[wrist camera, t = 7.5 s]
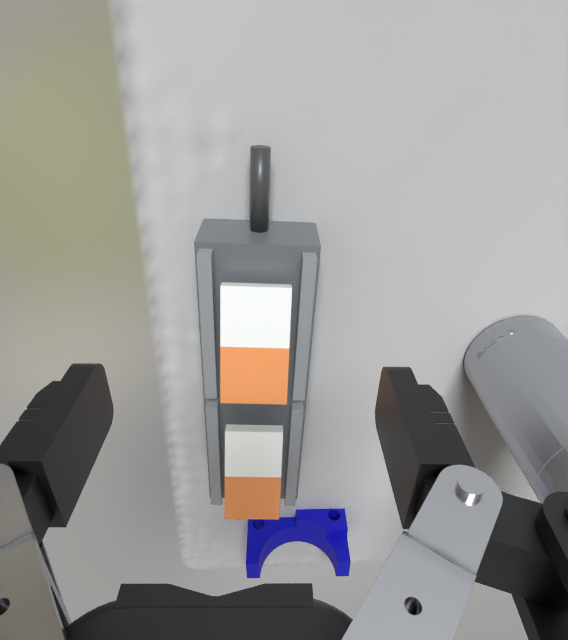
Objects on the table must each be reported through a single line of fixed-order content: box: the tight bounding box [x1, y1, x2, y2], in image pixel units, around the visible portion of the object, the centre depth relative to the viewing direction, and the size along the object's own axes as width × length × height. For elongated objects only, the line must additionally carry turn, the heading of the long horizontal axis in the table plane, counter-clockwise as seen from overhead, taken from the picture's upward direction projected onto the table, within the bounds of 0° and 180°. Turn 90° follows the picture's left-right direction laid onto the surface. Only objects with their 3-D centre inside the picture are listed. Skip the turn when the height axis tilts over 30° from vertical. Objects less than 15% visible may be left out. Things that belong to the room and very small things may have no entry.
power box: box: [194, 145, 321, 506], centre depth 39 cm, size 34×9×6 cm, turn 177°
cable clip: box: [246, 509, 350, 578], centre depth 54 cm, size 12×4×6 cm, turn 90°
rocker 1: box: [220, 282, 292, 405], centre depth 33 cm, size 9×5×1 cm, turn 178°
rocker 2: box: [225, 424, 283, 520], centre depth 40 cm, size 9×5×1 cm, turn 178°
